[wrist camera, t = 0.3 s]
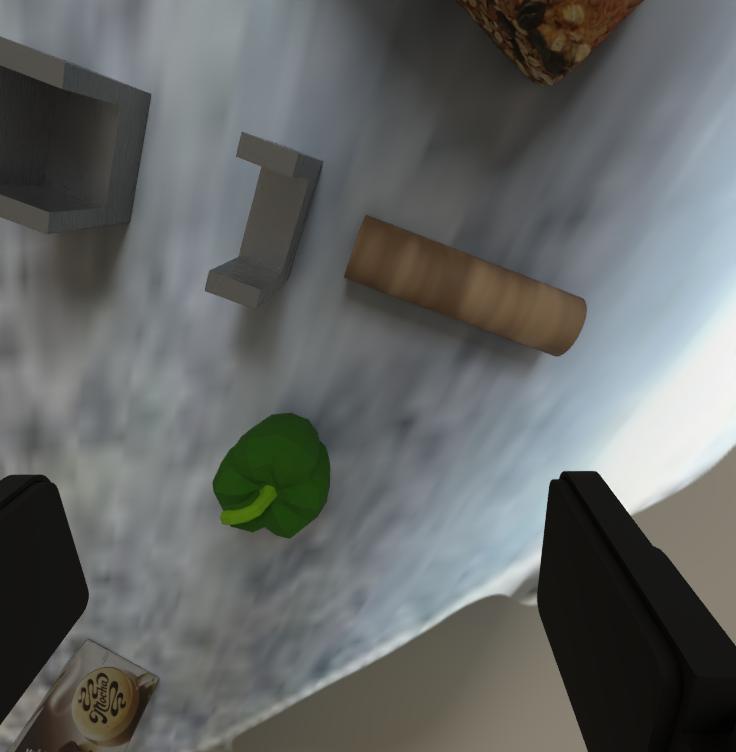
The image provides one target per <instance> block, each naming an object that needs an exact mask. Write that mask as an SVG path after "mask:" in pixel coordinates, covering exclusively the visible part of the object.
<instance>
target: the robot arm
mask: <svg viewBox="0 0 736 752" xmlns="http://www.w3.org/2000/svg"><path fill="white" fill-rule="evenodd" d="M88 599H89V592H88V587H87V584H86V581H85V577H84V574H83V571H82V567H81V564H80V561H79V557H78V554H77V551H76V547H75V544H74V541H73V538H72V534H71V531H70V528H69V524H68V521H67V518H66V514H65V511H64V508H63V504H62V501H61V498H60V494H59V491H58V488H57V486H56V485H55V484H54V483H51V482H50V480H49V479H48V478H47V477H46V476H44V475H9V476H7V477H5V478H3V479H2V480H1V481H0V725H1V723H2V722H3V721H4V719H5V718H6V716H7V715H8V714H9V712H10V711H11V710H12V708H13V707H14V706H15V704H16V703H17V702H18V700H19V699H20V698H21V696H22V695H23V693H24V692H25V691H26V689H27V688H28V687H29V685H30V684H31V683H32V681H33V680H34V679H35V677H36V676H37V674H38V673H39V672H40V670H41V669H42V668H43V666H44V665H45V664H46V662H47V661H48V660H49V658H50V657H51V656H52V654H53V653H54V651H55V650H56V649H57V647H58V646H59V645H60V643H61V642H62V641H63V639H64V638H65V637H66V635H67V634H68V632H69V631H70V630H71V628H72V627H73V626H74V624H75V623H76V622H77V620H78V619H79V618H80V616H81V615H82V614H83V612H84V610H85V609H86V606H87V603H88ZM537 603H538V609H539V614H540V617H541V620H542V623H543V626H544V628H545V631H546V634H547V637H548V640H549V642H550V646H551V648H552V651H553V654H554V657H555V660H556V662H557V665H558V668H559V671H560V674H561V677H562V679H563V682H564V685H565V688H566V690H567V693H568V696H569V699H570V702H571V705H572V708H573V711H574V713H575V716H576V719H577V722H578V725H579V727H580V730H581V733H582V736H583V739H584V742H585V744H586V747H587V750H588V752H736V646H735V644H734V643H733V642H732V641H731V639H730V638H729V637H728V635H727V634H726V633H725V631H724V630H723V629H722V628H721V626H720V625H719V624H718V622H717V621H716V620H715V618H714V617H713V616H712V614H711V613H710V612H709V611H708V609H707V608H706V607H705V605H704V604H703V603H702V601H701V600H700V599H699V597H698V596H697V595H696V594H695V592H694V591H693V590H692V588H691V587H690V586H689V584H688V583H687V582H686V580H685V579H684V578H683V577H682V575H681V574H680V573H679V571H678V570H677V569H676V567H675V566H674V565H673V563H672V562H671V561H670V560H669V558H668V557H667V556H666V555H665V554H664V553H663V552H662V551H661V550H660V549H658V548H656V547H654V546H653V545H652V544H651V543H650V541H649V540H648V539H647V537H646V536H645V535H644V533H643V532H642V531H641V529H640V528H639V527H638V525H637V524H636V523H635V521H634V520H633V519H632V517H631V516H630V515H629V513H628V512H627V511H626V509H625V508H624V507H623V505H622V504H621V503H620V501H619V500H618V499H617V497H616V496H615V495H614V493H613V492H612V491H611V489H610V488H609V486H608V485H607V484H606V482H605V481H604V480H603V478H602V477H601V476H600V475H599V474H598V473H597V472H595V471H563V472H562V473H561V475H560V478H559V479H553V480H551V482H550V485H549V493H548V502H547V511H546V520H545V529H544V538H543V547H542V556H541V565H540V574H539V583H538V592H537Z"/></svg>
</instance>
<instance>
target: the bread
mask: <svg viewBox="0 0 736 752" xmlns="http://www.w3.org/2000/svg"><path fill="white" fill-rule="evenodd" d="M456 1H457V2H458V3H459V4H460V5H463V6H464V7H465V8H466V9H467V11H468V12H469V13H470V14H471V17H472V19H473V20H474V21H475V22H476V23H477V24H478V25H479V26H480V27H481V28H482V29H483V30H484V31H485V32H486V33H487V35H488V36H489V37H490V38H491V39H492V40H493V41H494V43H495V44H496V45H497V46H498V47H499V48H500V49H501V50H502V52H503V53H504V54H505V55H506V56H507V57H509V58H510V59H511V60H512V61H513V62H514V63H515V64H516V65H517V66H518V67H519V68H520V70H521V71H522V72H523V73H524V74H525V75H526V76H527V77H529V78H530V79H531V80H532V82H534V83H537V84H538V85H541V86H543V85H545V84H546V83H548V84H550V85H553V84H554V83H555V82H559V81H560V80H561V79H562V78H563V77H564V76H565V75H566V74H567V73H568V72H569V71H570V73H571V71H572V69H574V68H576V67H578V66H579V65H580V64H581V63H582V62H583V61H584V60H585V59H586V58H587V57H588V56H589V55H590V54H591V53H592V51H593V50H594V49H595V48H596V47H597V46H598V45H599V44H600V43H602V42H603V41H604V40H605V39H606V37H607V36H608V35H609V34H610V33H611V32H612V31H613V30H614V29H615V28H616V27H617V26H618V25H619V24H620V23H621V22H622V21H623V20H624V19H625V18H626V17H627V16H628V15H629V14H630V13H631V12H632V11H633V10H634V9H635V8H636V7H637V6H638V5H639V4H640V3H641V2H642V1H643V0H456Z"/></svg>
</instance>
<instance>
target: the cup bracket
mask: <svg viewBox="0 0 736 752" xmlns="http://www.w3.org/2000/svg"><path fill="white" fill-rule="evenodd" d="M150 97H151V94H150V93H147V92H144V91H142V90H139V89H137V88H134V87H132V86H129V85H127V84H124V83H121V82H119V81H116V80H114V79H111V78H109V77H106V76H104V75H101V74H99V73H96V72H93V71H91V70H88V69H86V68H83V67H81V66H78V65H76V64H73V63H70V62H68V61H65V60H62V59H60V58H57V57H54V56H51V55H49V54H46V53H43V52H41V51H38V50H35V49H33V48H30V47H27V46H25V45H22V44H19V43H17V42H14V41H11V40H9V39H6V38H3V37H0V217H2V218H5V219H7V220H10V221H13V222H16V223H18V224H21V225H24V226H27V227H29V228H32V229H35V230H38V231H41V232H43V233H46V234H51V233H57V232H64V231H71V230H78V229H85V228H92V227H99V226H106V225H112V224H119V223H126V222H130V219H131V213H132V207H133V200H134V194H135V188H136V182H137V176H138V170H139V164H140V158H141V152H142V146H143V140H144V134H145V128H146V122H147V116H148V110H149V103H150Z"/></svg>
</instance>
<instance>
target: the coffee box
mask: <svg viewBox="0 0 736 752" xmlns="http://www.w3.org/2000/svg"><path fill="white" fill-rule="evenodd" d="M158 681H159V678H158V677H157V676H155V675H153V674H151V673H149V672H147V671H145V670H144V669H142V668H140V667H138V666H136V665H134V664H133V663H131V662H129V661H127V660H125V659H123V658H122V657H120V656H118V655H116V654H114V653H112V652H110V651H109V650H107V649H105V648H103V647H101V646H99V645H97V644H96V643H94V642H92V641H90V640H86V642H85V643H84V644H83V645H82V646H81V647H80V648H79V650H78V651H77V652H76V653H75V654H74V655H73V657H72V658H71V659H70V660H69V661H68V662H67V664H66V665H65V666H64V668H63V670H62V671H61V673H60V674H59V676H58V678H57V679H56V681H55V682H54V684H53V685H52V687H51V688H50V690H49V691H48V693H47V694H46V696H45V697H44V699H43V700H42V702H41V703H40V705H39V706H38V708H37V709H36V711H35V712H34V714H33V715H32V717H31V718H30V720H29V721H28V723H27V724H26V726H25V727H24V729H23V730H22V732H21V733H20V735H19V736H18V738H17V739H16V741H15V742H14V744H13V745H12V747H11V748H10V750H9V751H8V752H125V751H126V749H127V747H128V744H129V742H130V740H131V738H132V736H133V734H134V732H135V730H136V728H137V725H138V723H139V721H140V719H141V717H142V715H143V712H144V710H145V708H146V706H147V704H148V702H149V699H150V697H151V695H152V693H153V691H154V689H155V687H156V685H157V683H158Z"/></svg>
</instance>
